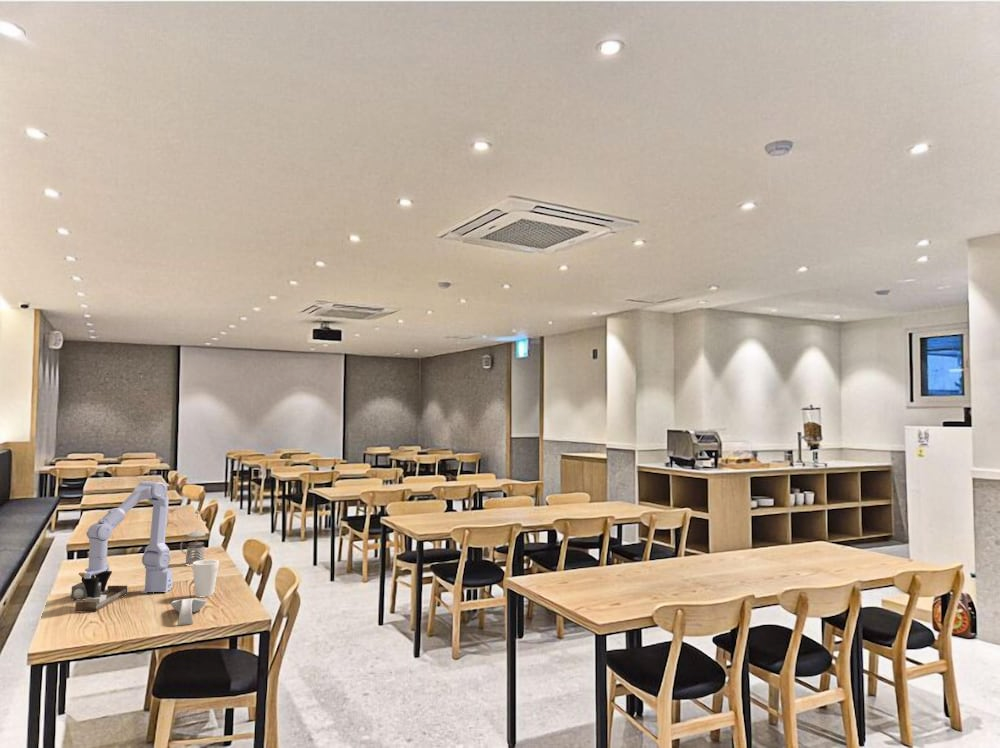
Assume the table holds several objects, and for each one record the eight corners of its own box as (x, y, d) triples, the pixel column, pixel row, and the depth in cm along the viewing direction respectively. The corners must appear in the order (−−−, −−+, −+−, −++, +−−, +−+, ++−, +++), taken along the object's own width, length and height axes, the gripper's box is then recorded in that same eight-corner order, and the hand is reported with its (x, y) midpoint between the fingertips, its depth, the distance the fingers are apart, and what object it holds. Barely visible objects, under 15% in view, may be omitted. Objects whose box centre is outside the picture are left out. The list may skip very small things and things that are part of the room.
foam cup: (217, 592, 270) (219, 559, 271) (217, 597, 262) (218, 563, 263) (191, 593, 267) (193, 560, 268) (190, 599, 258) (191, 565, 259)
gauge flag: (96, 581, 265) (96, 579, 265) (89, 574, 259) (89, 572, 260) (85, 581, 264) (86, 579, 265) (78, 574, 259) (78, 572, 259)
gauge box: (99, 593, 266) (100, 580, 266) (85, 600, 256) (86, 586, 256) (84, 593, 265) (85, 580, 266) (70, 600, 255) (71, 586, 256)
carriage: (106, 600, 250) (107, 581, 251) (99, 604, 245) (100, 584, 246) (92, 600, 250) (93, 581, 250) (84, 604, 245) (85, 584, 246)
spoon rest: (171, 608, 247) (172, 588, 248) (206, 606, 251) (207, 586, 252) (166, 627, 225) (167, 605, 226) (205, 624, 230) (206, 602, 230)
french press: (204, 566, 317) (206, 512, 318) (177, 566, 314) (179, 512, 316) (208, 561, 326) (210, 509, 328) (182, 562, 323) (184, 509, 325)
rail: (126, 594, 265) (127, 585, 265) (95, 611, 241) (96, 602, 241) (108, 594, 264) (108, 585, 264) (75, 612, 240) (75, 602, 241)
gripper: (96, 552, 256) (94, 589, 255) (76, 560, 241) (73, 599, 240) (116, 552, 256) (114, 589, 255) (96, 560, 242) (94, 599, 241)
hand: (96, 594), depth 248 cm, fingers open, 7 cm apart
